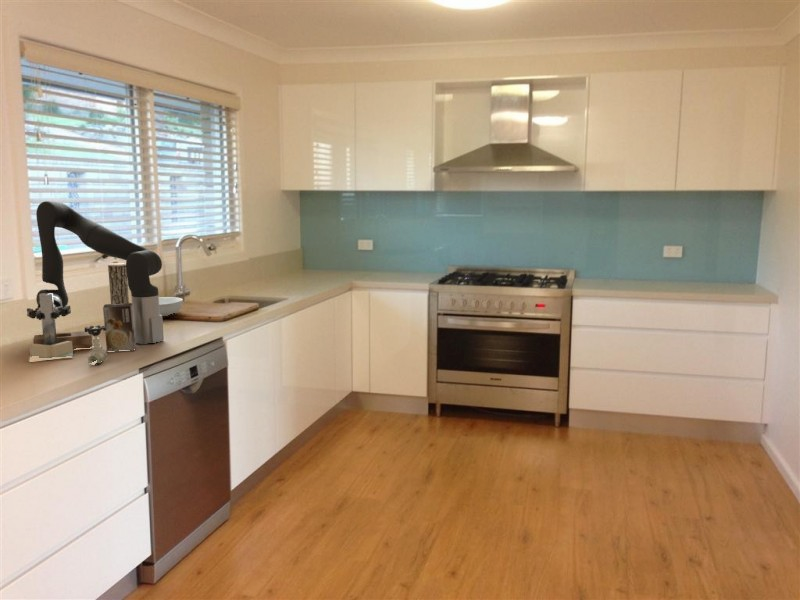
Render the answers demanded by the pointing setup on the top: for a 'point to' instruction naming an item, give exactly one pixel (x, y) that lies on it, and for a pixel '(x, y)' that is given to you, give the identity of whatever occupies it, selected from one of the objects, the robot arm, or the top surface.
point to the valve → (96, 344)
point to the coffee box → (119, 327)
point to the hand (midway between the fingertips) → (47, 316)
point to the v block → (52, 350)
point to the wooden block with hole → (70, 339)
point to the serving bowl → (169, 305)
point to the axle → (48, 318)
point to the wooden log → (118, 283)
